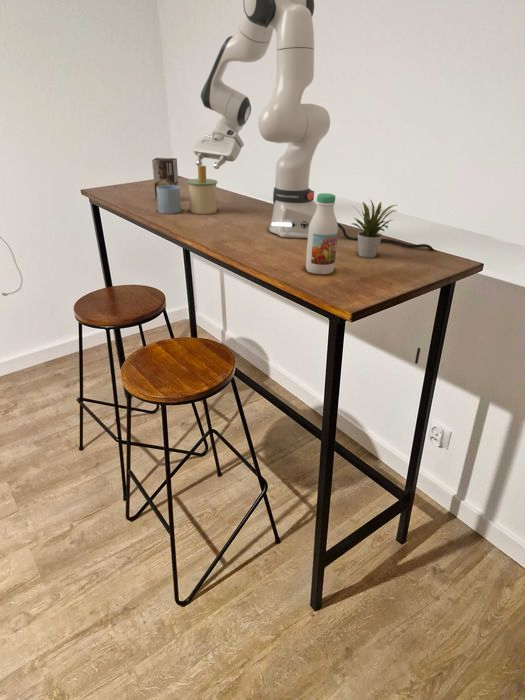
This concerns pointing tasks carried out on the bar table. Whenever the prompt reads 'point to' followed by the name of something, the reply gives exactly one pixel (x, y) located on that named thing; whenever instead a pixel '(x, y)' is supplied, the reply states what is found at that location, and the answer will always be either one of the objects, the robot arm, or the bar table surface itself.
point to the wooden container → (202, 199)
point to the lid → (202, 178)
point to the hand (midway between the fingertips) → (206, 166)
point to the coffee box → (165, 172)
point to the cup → (168, 199)
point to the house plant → (371, 230)
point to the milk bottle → (322, 237)
